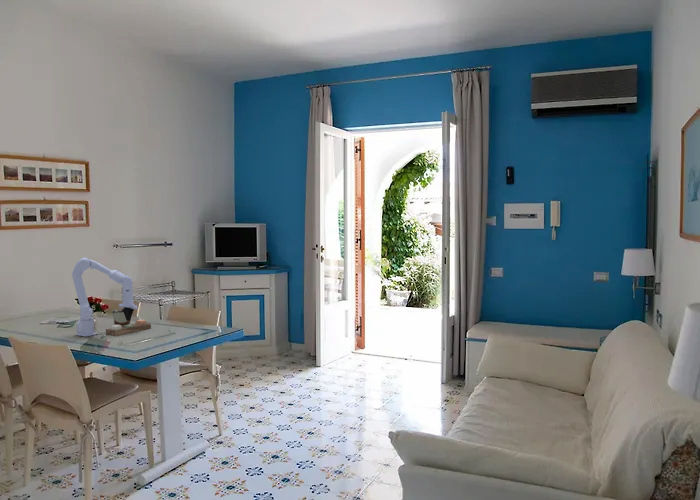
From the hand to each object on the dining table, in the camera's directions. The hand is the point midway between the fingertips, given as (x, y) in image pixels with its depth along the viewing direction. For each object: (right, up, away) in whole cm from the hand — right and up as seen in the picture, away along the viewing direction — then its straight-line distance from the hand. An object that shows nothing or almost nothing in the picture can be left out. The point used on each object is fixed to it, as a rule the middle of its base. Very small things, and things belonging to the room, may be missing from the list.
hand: (128, 320), depth 333 cm
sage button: (0, -6, 0) cm, 6 cm away
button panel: (0, -7, 0) cm, 7 cm away
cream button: (-4, -6, -7) cm, 10 cm away
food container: (-10, -6, +18) cm, 22 cm away
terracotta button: (+5, -4, +8) cm, 10 cm away
